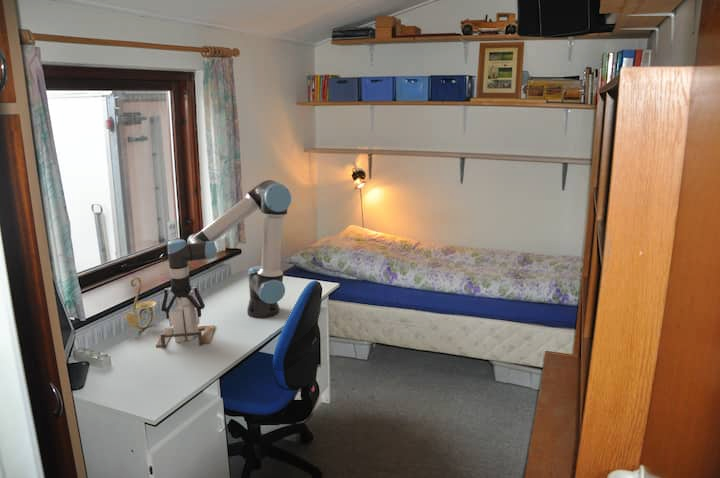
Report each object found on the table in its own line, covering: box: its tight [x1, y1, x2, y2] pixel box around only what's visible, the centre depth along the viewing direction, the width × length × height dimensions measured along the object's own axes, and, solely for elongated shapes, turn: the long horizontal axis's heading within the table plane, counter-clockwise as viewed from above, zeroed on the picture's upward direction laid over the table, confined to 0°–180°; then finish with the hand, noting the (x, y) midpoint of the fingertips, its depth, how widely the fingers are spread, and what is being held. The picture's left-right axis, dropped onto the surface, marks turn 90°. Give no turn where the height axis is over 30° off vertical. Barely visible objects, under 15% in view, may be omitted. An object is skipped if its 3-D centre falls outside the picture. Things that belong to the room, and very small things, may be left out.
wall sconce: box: [125, 276, 157, 330], centre depth 253 cm, size 14×10×25 cm
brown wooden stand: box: [155, 325, 216, 349], centre depth 245 cm, size 22×19×6 cm
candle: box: [170, 290, 198, 343], centre depth 243 cm, size 11×7×20 cm, turn 162°
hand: (185, 324), depth 244 cm, fingers open, 10 cm apart
